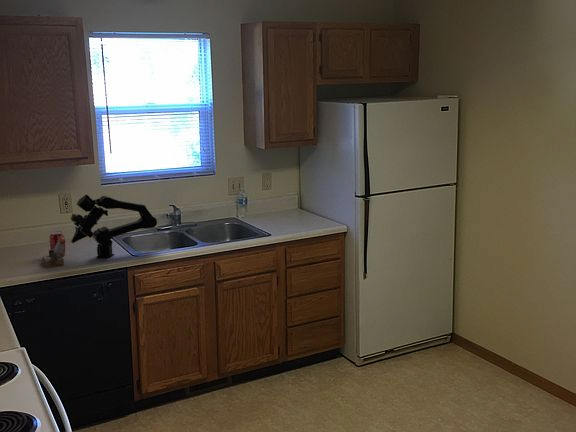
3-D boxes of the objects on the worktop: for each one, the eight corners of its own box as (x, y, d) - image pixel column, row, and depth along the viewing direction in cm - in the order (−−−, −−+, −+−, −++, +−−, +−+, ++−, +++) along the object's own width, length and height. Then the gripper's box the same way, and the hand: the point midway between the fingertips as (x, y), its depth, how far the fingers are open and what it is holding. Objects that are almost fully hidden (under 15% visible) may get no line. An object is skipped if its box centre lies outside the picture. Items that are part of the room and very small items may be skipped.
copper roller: (55, 255, 312) (64, 237, 313) (57, 258, 307) (66, 240, 307) (50, 253, 311) (59, 235, 311) (52, 256, 306) (61, 238, 306)
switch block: (60, 259, 316) (59, 248, 314) (64, 264, 307) (63, 252, 306) (43, 262, 312) (42, 250, 311) (46, 267, 303) (45, 255, 302)
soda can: (67, 253, 327) (65, 230, 324) (63, 257, 320) (61, 234, 317) (53, 254, 327) (51, 231, 324) (49, 257, 320) (47, 234, 317)
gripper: (76, 204, 319) (55, 228, 316) (84, 210, 303) (61, 236, 300) (93, 217, 324) (73, 242, 321) (102, 224, 308) (80, 250, 305)
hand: (71, 242), depth 312 cm, fingers closed
